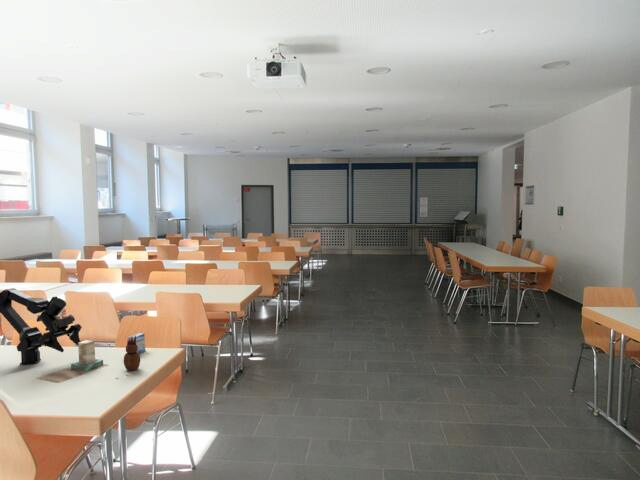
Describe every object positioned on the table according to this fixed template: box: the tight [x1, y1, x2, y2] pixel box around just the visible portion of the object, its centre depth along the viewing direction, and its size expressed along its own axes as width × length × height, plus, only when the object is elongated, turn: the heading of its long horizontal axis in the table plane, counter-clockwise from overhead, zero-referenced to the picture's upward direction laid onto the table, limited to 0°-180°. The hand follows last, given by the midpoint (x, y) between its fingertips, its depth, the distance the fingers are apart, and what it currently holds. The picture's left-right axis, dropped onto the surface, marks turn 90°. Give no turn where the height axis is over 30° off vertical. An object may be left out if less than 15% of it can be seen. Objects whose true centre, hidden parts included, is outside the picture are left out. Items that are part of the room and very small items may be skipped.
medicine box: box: [127, 332, 146, 354], centre depth 228 cm, size 8×4×9 cm, turn 168°
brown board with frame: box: [36, 358, 109, 384], centre depth 199 cm, size 24×14×3 cm, turn 154°
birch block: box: [77, 339, 96, 365], centre depth 204 cm, size 4×4×11 cm
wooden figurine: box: [123, 334, 141, 372], centre depth 203 cm, size 7×6×15 cm
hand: (71, 348), depth 207 cm, fingers open, 9 cm apart
